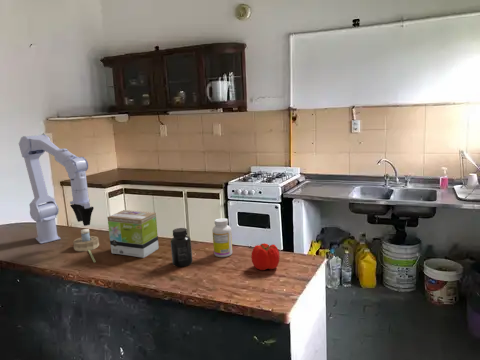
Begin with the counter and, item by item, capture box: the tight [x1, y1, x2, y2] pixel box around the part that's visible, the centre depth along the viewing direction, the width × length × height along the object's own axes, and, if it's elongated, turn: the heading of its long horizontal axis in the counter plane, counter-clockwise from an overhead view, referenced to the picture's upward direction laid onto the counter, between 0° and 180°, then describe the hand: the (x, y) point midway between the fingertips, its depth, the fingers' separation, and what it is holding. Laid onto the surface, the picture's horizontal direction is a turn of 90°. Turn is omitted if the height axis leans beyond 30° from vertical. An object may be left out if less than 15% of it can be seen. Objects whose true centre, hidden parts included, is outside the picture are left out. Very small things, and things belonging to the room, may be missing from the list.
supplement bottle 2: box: [212, 217, 233, 258], centre depth 145 cm, size 7×7×13 cm
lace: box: [87, 250, 97, 263], centre depth 150 cm, size 14×1×1 cm, turn 28°
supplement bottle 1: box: [170, 227, 193, 268], centre depth 138 cm, size 7×7×12 cm
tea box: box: [107, 209, 160, 259], centre depth 152 cm, size 15×10×15 cm
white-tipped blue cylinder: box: [80, 228, 91, 242], centre depth 160 cm, size 3×3×7 cm
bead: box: [72, 235, 100, 252], centre depth 161 cm, size 9×9×3 cm
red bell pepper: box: [251, 242, 281, 271], centre depth 132 cm, size 9×9×8 cm
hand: (83, 223), depth 159 cm, fingers open, 7 cm apart
